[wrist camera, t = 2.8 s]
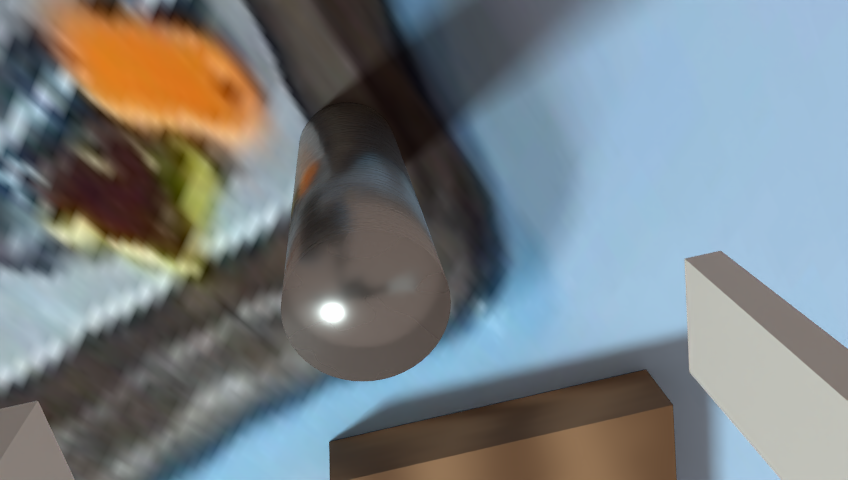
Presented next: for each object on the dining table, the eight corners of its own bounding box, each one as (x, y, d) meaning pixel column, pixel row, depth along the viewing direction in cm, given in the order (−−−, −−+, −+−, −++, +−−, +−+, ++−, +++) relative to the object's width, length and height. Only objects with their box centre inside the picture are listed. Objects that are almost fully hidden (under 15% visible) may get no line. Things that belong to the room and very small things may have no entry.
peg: (311, 205, 31) (304, 396, 18) (288, 113, 29) (261, 251, 16) (404, 186, 31) (462, 361, 18) (386, 93, 29) (435, 213, 17)
